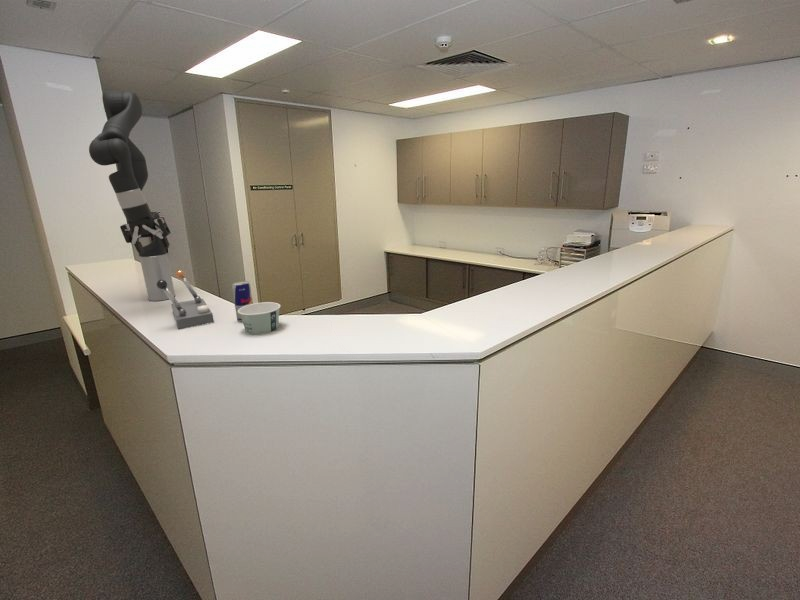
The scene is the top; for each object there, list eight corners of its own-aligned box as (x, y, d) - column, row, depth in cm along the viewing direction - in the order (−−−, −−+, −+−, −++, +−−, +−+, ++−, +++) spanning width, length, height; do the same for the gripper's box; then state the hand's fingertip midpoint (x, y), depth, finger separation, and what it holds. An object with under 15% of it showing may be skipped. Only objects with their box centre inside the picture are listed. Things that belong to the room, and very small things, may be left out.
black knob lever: (179, 315, 128) (154, 282, 122) (187, 311, 129) (163, 277, 123) (180, 318, 125) (154, 283, 120) (188, 313, 126) (163, 278, 121)
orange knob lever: (195, 302, 142) (173, 272, 136) (202, 298, 143) (181, 267, 137) (196, 304, 140) (173, 273, 134) (203, 300, 141) (182, 269, 135)
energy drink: (249, 322, 127) (243, 285, 124) (233, 322, 128) (227, 285, 125) (258, 317, 132) (253, 281, 129) (243, 316, 133) (237, 281, 130)
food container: (232, 332, 120) (228, 310, 118) (264, 320, 129) (261, 300, 128) (259, 338, 113) (256, 316, 112) (291, 325, 123) (289, 304, 121)
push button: (197, 311, 130) (196, 306, 130) (208, 309, 132) (207, 304, 132) (198, 313, 128) (197, 308, 127) (209, 311, 129) (209, 306, 129)
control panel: (172, 312, 142) (171, 303, 141) (204, 306, 147) (202, 298, 146) (178, 329, 124) (176, 319, 123) (213, 322, 129) (212, 313, 128)
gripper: (160, 198, 138) (179, 243, 145) (118, 205, 138) (139, 251, 145) (149, 202, 131) (170, 250, 138) (105, 210, 131) (128, 258, 138)
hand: (154, 250), depth 141 cm, fingers open, 8 cm apart
